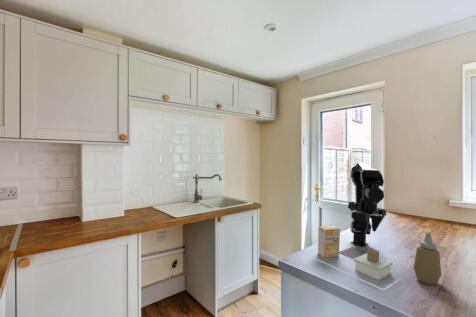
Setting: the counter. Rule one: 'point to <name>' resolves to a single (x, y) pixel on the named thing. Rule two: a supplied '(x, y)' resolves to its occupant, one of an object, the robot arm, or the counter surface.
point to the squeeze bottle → (427, 261)
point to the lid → (373, 260)
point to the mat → (352, 252)
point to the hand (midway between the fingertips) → (368, 233)
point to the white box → (372, 271)
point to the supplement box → (328, 241)
